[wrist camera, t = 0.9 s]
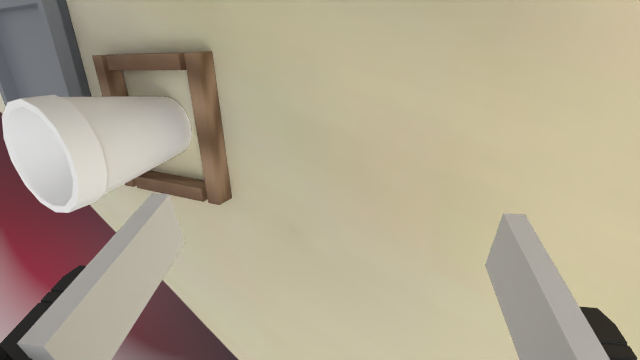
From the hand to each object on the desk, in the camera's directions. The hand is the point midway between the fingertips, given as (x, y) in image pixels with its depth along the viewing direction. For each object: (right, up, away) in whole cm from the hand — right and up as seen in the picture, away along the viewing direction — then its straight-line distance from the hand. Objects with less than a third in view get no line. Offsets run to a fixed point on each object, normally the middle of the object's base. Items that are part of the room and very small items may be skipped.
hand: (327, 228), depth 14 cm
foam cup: (-17, +8, +24) cm, 31 cm away
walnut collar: (-17, +8, +24) cm, 31 cm away
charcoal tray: (-36, +16, +31) cm, 50 cm away
